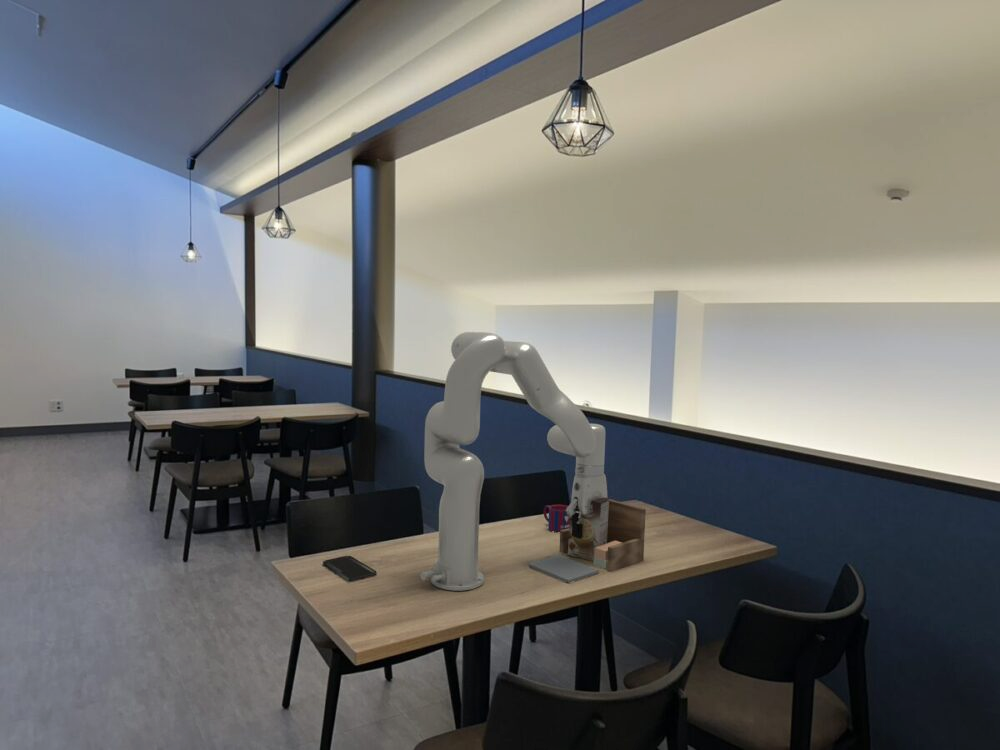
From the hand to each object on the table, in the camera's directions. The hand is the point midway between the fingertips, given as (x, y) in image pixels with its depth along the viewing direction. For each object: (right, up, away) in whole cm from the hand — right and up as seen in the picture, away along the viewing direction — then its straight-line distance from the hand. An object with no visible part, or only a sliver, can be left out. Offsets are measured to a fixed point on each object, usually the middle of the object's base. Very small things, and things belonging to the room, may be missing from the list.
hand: (587, 534), depth 178 cm
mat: (-8, -6, -11) cm, 15 cm away
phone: (-61, -6, -15) cm, 63 cm away
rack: (+3, -6, 0) cm, 7 cm away
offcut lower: (+6, -7, -5) cm, 10 cm away
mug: (-6, -4, +24) cm, 26 cm away
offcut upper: (+5, -4, -5) cm, 8 cm away
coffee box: (0, -6, 0) cm, 6 cm away
